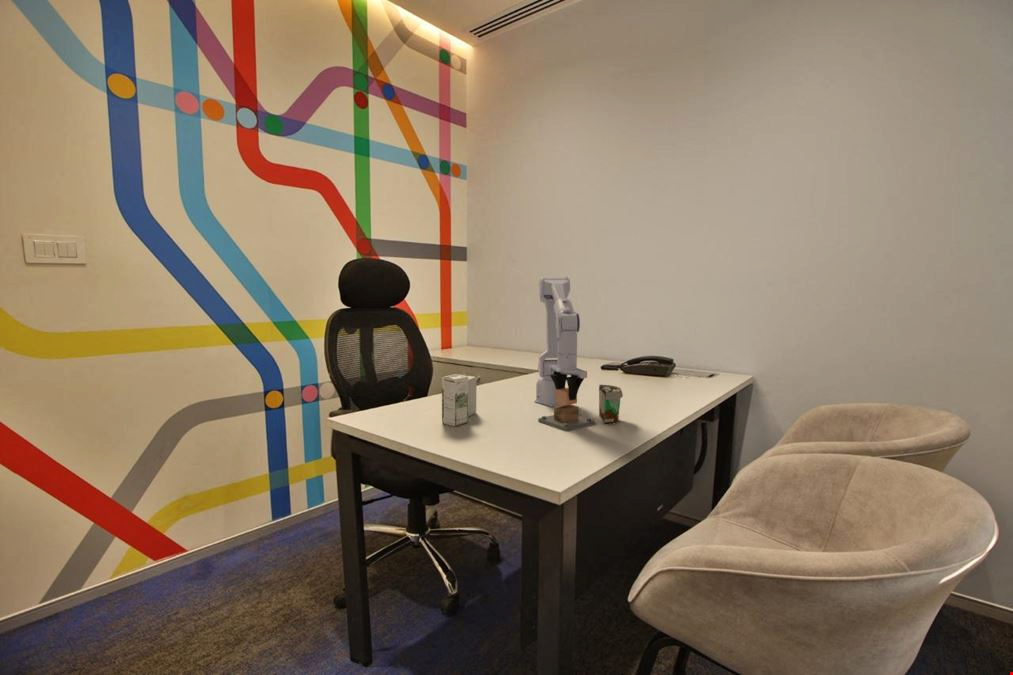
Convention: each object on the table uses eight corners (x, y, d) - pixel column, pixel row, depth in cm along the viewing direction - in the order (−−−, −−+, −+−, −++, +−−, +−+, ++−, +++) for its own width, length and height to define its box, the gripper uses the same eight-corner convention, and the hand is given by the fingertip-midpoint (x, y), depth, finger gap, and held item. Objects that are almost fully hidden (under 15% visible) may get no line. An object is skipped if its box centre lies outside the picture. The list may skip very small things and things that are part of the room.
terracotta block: (556, 402, 147) (556, 389, 147) (566, 400, 150) (566, 387, 149) (566, 405, 144) (566, 392, 143) (576, 403, 146) (577, 390, 146)
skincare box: (465, 411, 160) (464, 375, 159) (477, 413, 158) (477, 376, 157) (455, 416, 155) (455, 378, 153) (468, 417, 153) (467, 379, 151)
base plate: (538, 421, 148) (538, 416, 148) (566, 415, 156) (566, 410, 156) (566, 431, 139) (566, 425, 139) (594, 423, 146) (594, 418, 146)
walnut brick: (553, 419, 147) (554, 406, 147) (568, 416, 151) (568, 403, 150) (564, 422, 144) (564, 409, 143) (578, 419, 147) (578, 406, 147)
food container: (626, 426, 144) (627, 393, 143) (605, 426, 144) (606, 392, 143) (617, 414, 156) (618, 384, 155) (598, 414, 156) (599, 384, 155)
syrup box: (455, 419, 151) (454, 373, 149) (468, 422, 147) (468, 375, 146) (441, 423, 146) (440, 376, 145) (455, 427, 143) (454, 378, 141)
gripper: (541, 352, 148) (540, 395, 150) (575, 357, 137) (574, 405, 138) (557, 350, 153) (557, 392, 154) (592, 355, 141) (591, 401, 143)
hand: (566, 398), depth 147 cm, fingers closed on terracotta block, 4 cm apart
